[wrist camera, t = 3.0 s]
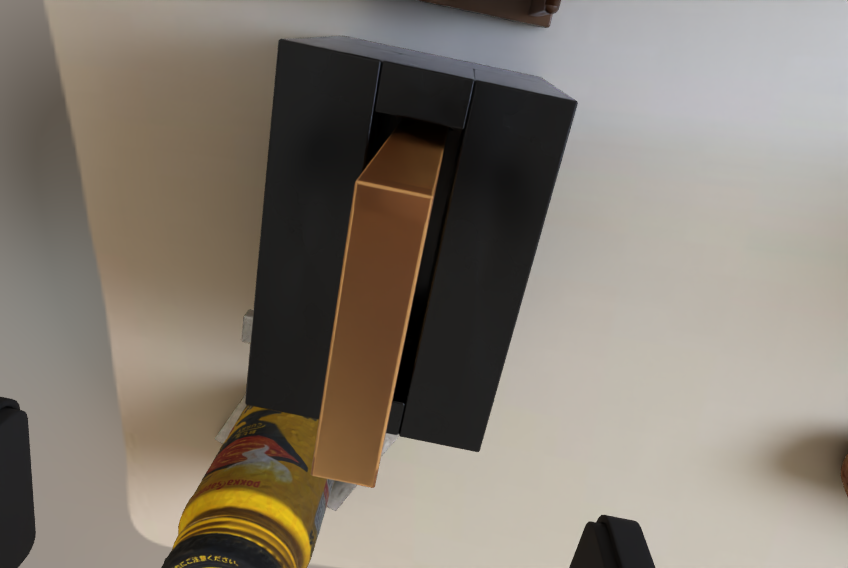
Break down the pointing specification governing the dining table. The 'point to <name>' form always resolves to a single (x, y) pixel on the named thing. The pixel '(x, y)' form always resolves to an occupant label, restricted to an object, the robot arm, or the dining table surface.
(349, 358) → the toast
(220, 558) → the condiment
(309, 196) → the toaster
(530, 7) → the rack
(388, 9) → the dining table surface
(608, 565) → the robot arm
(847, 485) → the reddish-brown tapered rod
